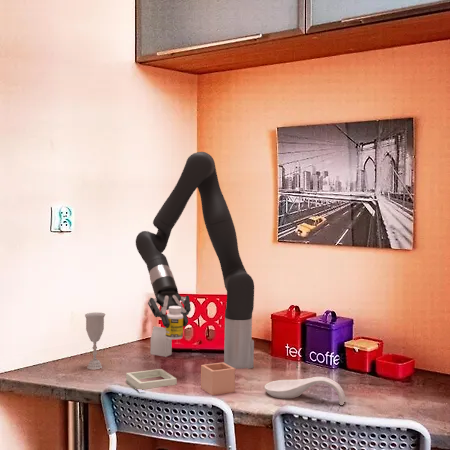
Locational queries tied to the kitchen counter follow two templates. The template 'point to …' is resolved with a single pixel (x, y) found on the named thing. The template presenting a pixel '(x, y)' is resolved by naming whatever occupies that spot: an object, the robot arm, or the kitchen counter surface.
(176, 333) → the supplement bottle
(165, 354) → the tea bag
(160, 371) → the tray
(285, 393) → the spoon rest
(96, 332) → the chalice
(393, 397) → the kitchen counter surface
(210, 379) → the tan open box
